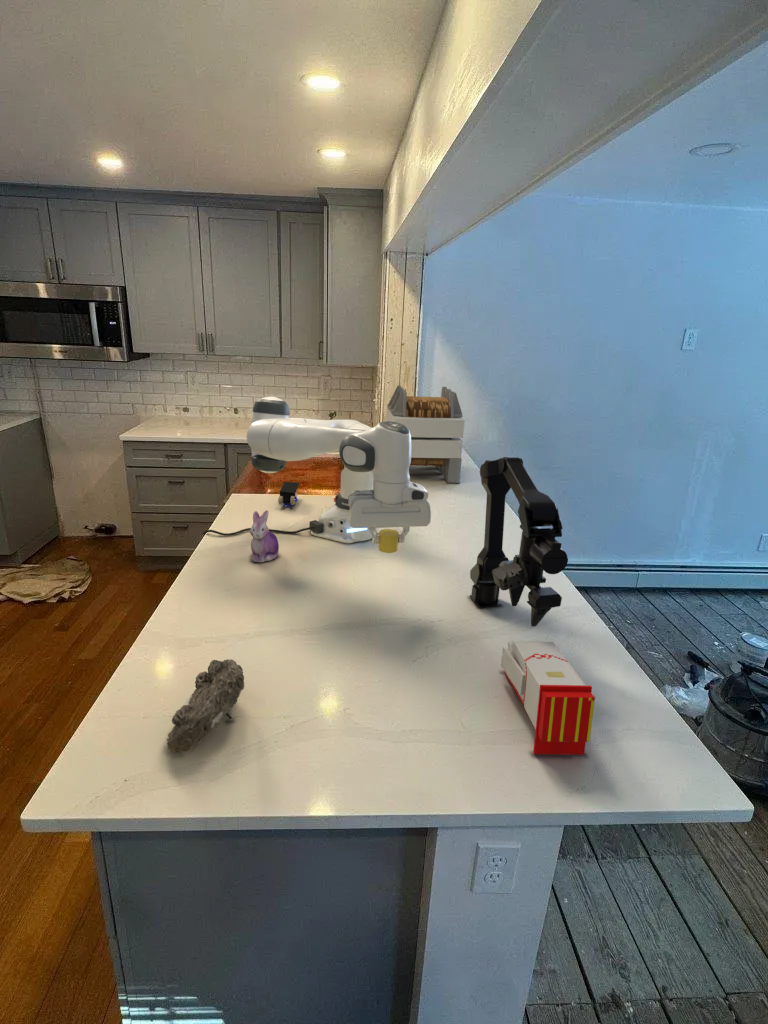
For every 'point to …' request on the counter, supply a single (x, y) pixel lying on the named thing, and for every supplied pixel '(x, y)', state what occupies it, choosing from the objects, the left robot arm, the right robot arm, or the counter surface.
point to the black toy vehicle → (288, 494)
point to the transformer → (431, 429)
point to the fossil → (206, 705)
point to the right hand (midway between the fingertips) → (523, 615)
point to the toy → (550, 696)
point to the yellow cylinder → (388, 540)
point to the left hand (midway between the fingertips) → (388, 542)
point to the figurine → (262, 539)
